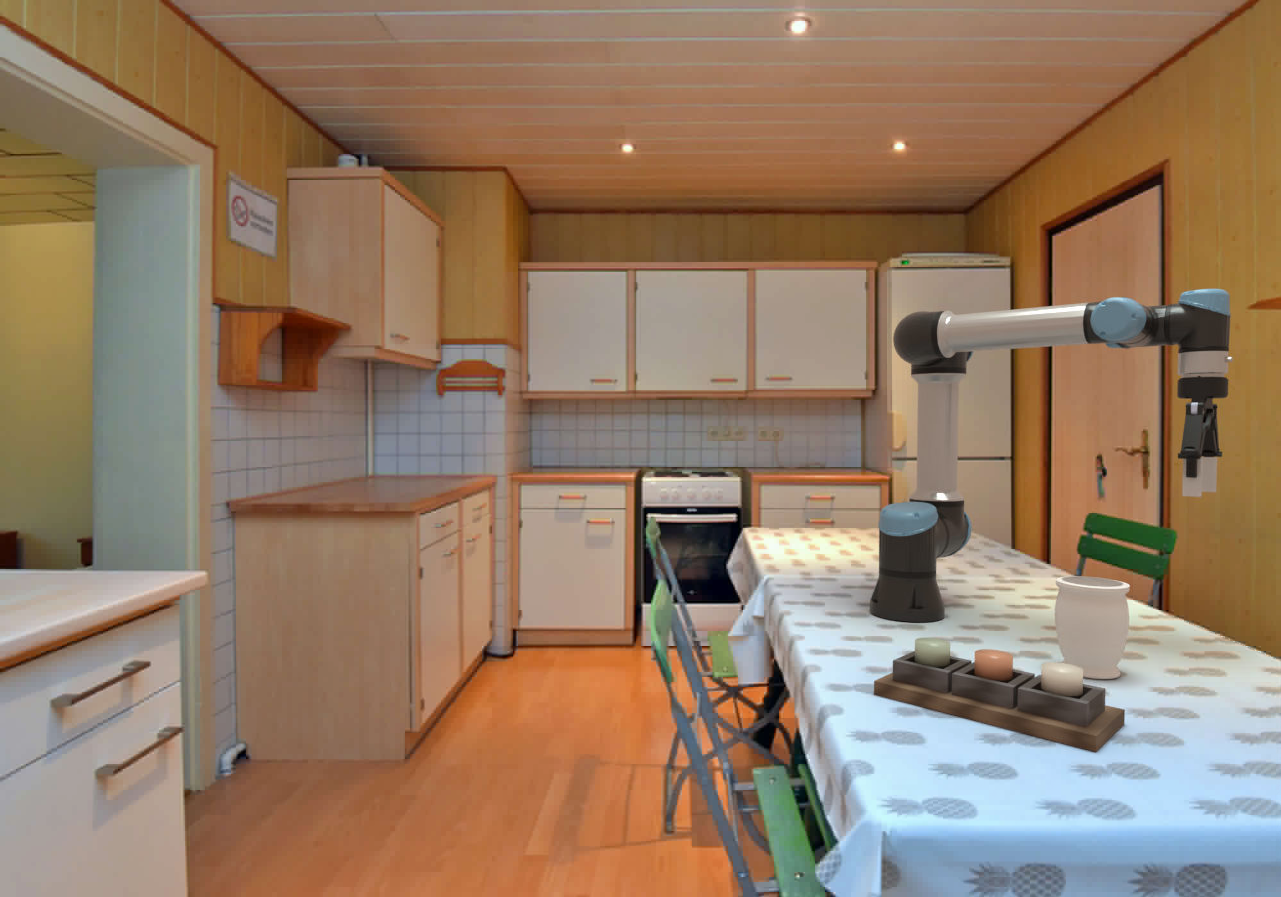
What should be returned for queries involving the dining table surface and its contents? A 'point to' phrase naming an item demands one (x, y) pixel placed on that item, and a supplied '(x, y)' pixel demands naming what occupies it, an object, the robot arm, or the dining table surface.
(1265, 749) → the dining table surface
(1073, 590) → the jar
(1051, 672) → the button cream
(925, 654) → the button sage
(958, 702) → the button board
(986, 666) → the button terracotta
